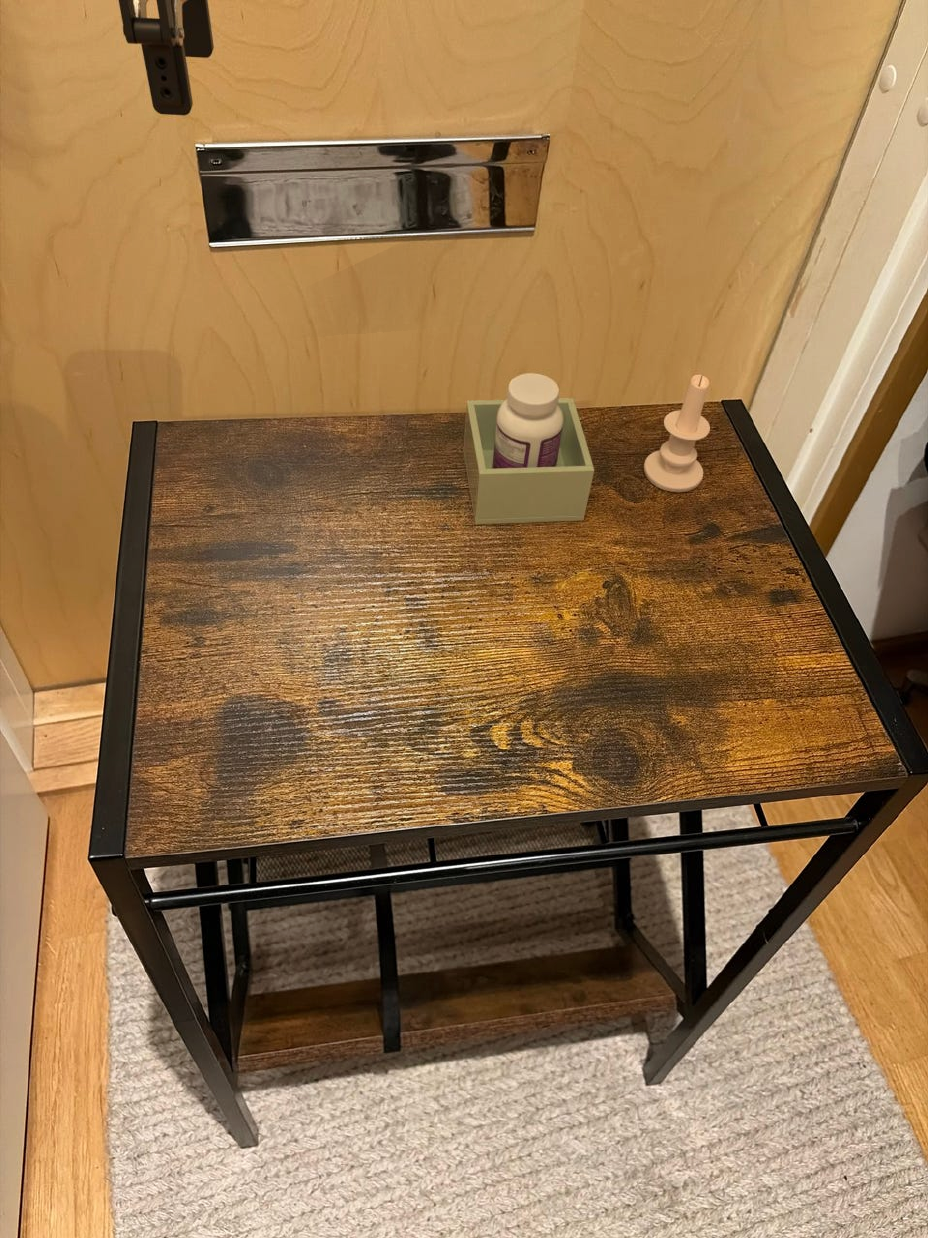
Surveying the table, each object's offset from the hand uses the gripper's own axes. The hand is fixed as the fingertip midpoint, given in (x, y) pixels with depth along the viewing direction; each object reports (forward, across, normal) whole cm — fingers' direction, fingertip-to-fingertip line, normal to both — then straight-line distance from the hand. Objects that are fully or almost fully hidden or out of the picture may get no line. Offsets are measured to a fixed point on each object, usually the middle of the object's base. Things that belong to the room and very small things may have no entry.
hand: (186, 82), depth 58 cm
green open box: (+30, +3, +24) cm, 39 cm away
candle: (+30, +1, +38) cm, 48 cm away
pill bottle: (+30, +3, +24) cm, 38 cm away
